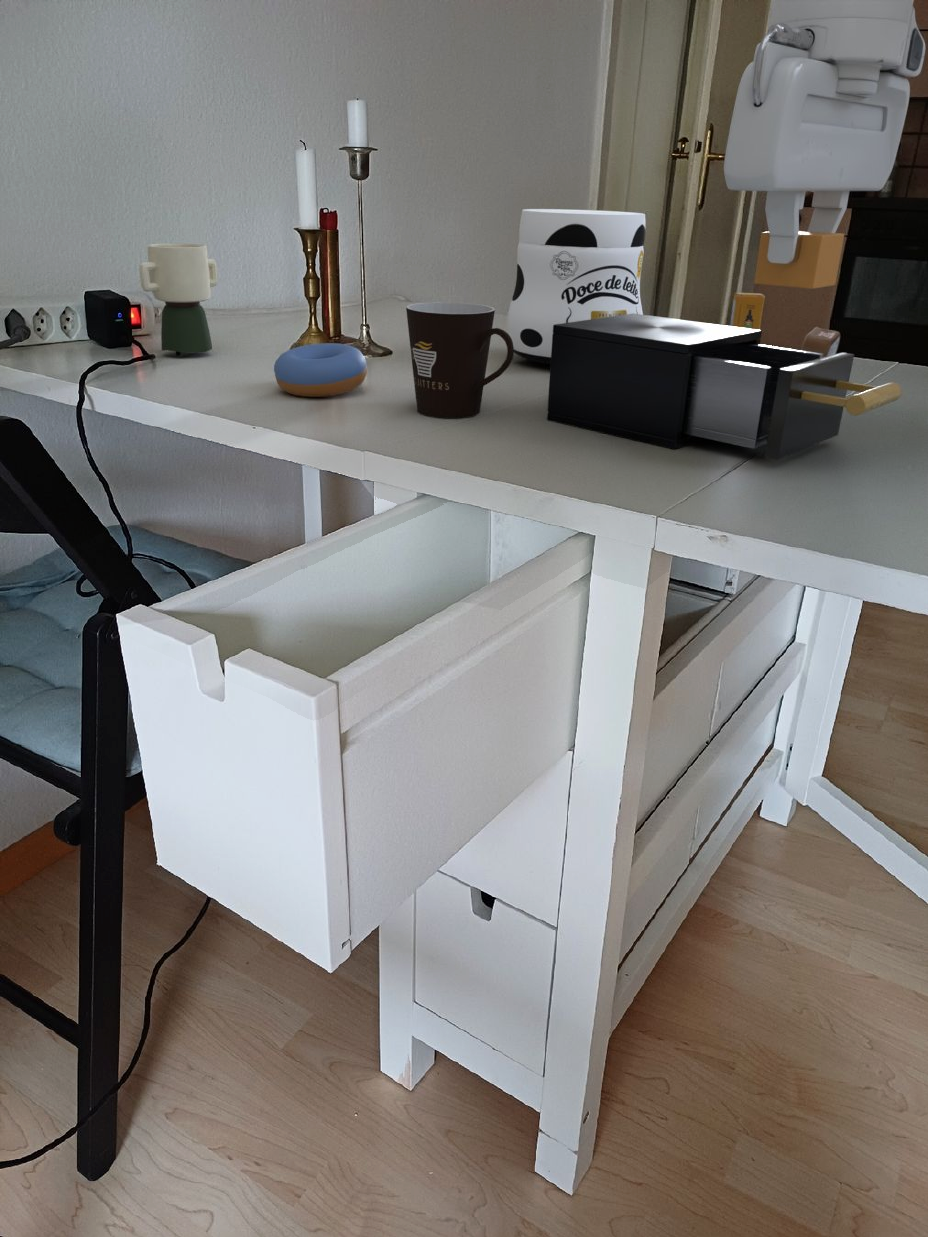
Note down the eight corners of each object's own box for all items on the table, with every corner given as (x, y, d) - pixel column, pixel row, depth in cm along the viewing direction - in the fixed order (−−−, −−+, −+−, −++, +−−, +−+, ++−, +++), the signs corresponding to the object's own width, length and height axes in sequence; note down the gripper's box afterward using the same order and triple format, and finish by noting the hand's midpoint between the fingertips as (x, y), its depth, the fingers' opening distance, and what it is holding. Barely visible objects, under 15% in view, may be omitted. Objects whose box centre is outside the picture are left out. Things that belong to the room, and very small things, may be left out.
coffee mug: (394, 404, 96) (394, 303, 92) (471, 399, 99) (474, 301, 95) (433, 431, 86) (435, 319, 82) (517, 425, 89) (523, 317, 85)
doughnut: (285, 403, 95) (283, 357, 93) (267, 384, 104) (264, 341, 102) (378, 397, 99) (378, 353, 97) (353, 379, 107) (352, 338, 105)
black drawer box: (747, 425, 92) (762, 330, 88) (675, 449, 83) (688, 344, 79) (623, 400, 101) (632, 313, 97) (546, 420, 92) (552, 324, 88)
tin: (800, 399, 104) (814, 320, 100) (829, 402, 103) (845, 323, 99) (778, 427, 92) (794, 339, 88) (811, 431, 90) (828, 342, 87)
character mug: (206, 346, 124) (197, 242, 119) (239, 353, 120) (231, 245, 115) (134, 355, 117) (120, 244, 111) (167, 363, 113) (154, 248, 107)
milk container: (608, 381, 110) (624, 216, 103) (481, 364, 118) (487, 209, 110) (657, 360, 124) (674, 213, 116) (540, 346, 132) (548, 207, 124)
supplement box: (749, 377, 115) (763, 292, 111) (752, 382, 112) (766, 295, 107) (722, 375, 115) (734, 290, 111) (724, 380, 112) (736, 293, 108)
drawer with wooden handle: (897, 446, 82) (917, 362, 79) (840, 474, 74) (860, 381, 71) (707, 409, 94) (718, 335, 91) (639, 429, 85) (648, 348, 82)
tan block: (835, 285, 68) (844, 233, 67) (812, 288, 65) (822, 235, 64) (777, 280, 71) (785, 230, 69) (753, 283, 68) (761, 232, 67)
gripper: (815, 13, 53) (776, 272, 59) (934, 50, 66) (892, 257, 72) (715, 22, 56) (687, 265, 62) (847, 55, 70) (814, 251, 76)
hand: (798, 260), depth 67 cm, fingers closed on tan block, 4 cm apart
